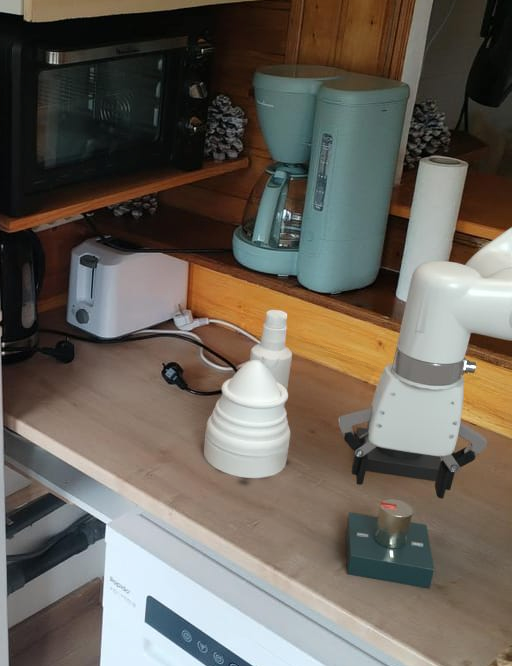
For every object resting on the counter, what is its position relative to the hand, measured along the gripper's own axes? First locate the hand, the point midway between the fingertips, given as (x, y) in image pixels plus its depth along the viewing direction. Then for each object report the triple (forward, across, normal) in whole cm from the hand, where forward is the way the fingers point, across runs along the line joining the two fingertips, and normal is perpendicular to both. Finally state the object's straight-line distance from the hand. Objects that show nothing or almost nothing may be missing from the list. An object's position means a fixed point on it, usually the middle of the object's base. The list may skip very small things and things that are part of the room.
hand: (398, 485), depth 115 cm
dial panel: (+11, 0, 0) cm, 11 cm away
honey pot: (+12, +20, -21) cm, 31 cm away
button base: (+11, -3, -27) cm, 29 cm away
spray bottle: (+12, +18, -38) cm, 43 cm away
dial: (+8, 0, 0) cm, 8 cm away
